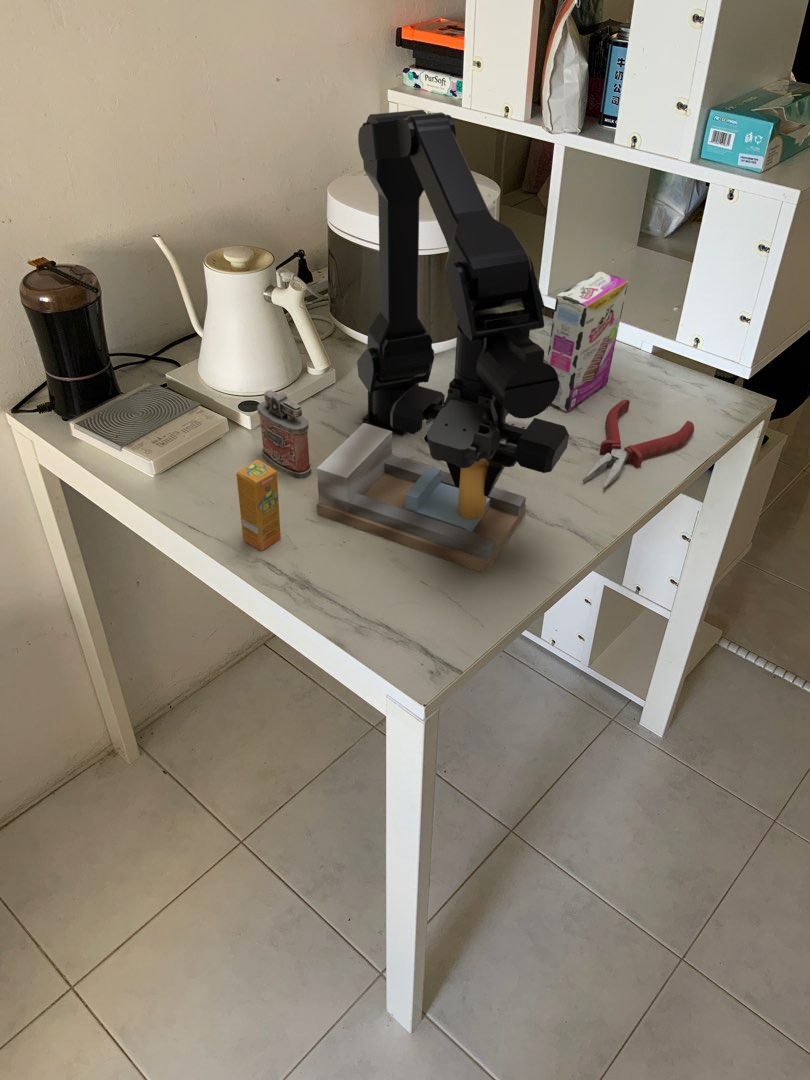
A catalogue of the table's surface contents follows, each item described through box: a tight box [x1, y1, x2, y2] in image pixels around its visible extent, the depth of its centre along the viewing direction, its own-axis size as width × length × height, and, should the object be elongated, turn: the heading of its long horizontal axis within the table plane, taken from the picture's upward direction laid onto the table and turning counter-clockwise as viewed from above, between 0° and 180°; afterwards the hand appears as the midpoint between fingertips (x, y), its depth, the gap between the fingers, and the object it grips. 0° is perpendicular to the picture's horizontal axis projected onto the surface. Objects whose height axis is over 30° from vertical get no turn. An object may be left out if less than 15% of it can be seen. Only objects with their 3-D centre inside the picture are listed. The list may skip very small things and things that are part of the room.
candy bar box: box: [546, 271, 629, 413], centre depth 122 cm, size 11×5×16 cm, turn 139°
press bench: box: [316, 423, 527, 574], centre depth 104 cm, size 22×12×6 cm, turn 62°
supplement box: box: [235, 459, 281, 551], centre depth 98 cm, size 3×3×10 cm
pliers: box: [582, 399, 695, 490], centre depth 116 cm, size 12×20×3 cm, turn 144°
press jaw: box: [405, 459, 490, 532], centre depth 101 cm, size 9×6×8 cm
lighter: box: [256, 389, 312, 480], centre depth 110 cm, size 8×3×10 cm, turn 47°
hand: (473, 490), depth 100 cm, fingers closed on press jaw, 3 cm apart
